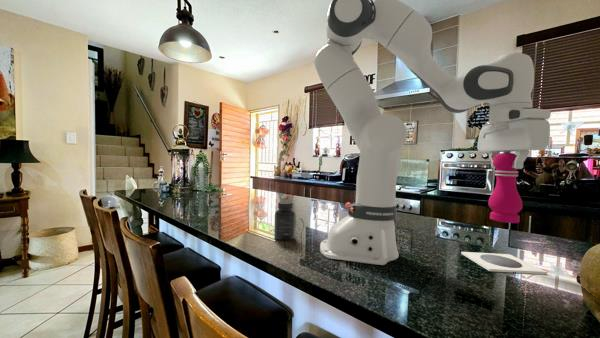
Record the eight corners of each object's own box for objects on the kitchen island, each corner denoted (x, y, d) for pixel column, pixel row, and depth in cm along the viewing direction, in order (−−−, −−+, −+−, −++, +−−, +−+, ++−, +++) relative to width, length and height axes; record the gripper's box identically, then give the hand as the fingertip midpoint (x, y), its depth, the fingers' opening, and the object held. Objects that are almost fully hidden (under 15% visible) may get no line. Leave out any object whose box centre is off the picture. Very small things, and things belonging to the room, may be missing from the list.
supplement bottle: (273, 235, 87) (274, 200, 86) (292, 234, 88) (294, 200, 88) (274, 241, 80) (276, 204, 80) (296, 241, 81) (297, 204, 81)
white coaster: (489, 271, 63) (489, 268, 63) (461, 253, 75) (461, 251, 75) (547, 274, 63) (547, 271, 63) (509, 256, 75) (509, 253, 75)
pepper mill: (528, 224, 64) (532, 146, 64) (496, 222, 66) (500, 145, 65) (511, 218, 71) (514, 148, 71) (482, 216, 73) (485, 147, 72)
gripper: (472, 122, 78) (470, 166, 79) (529, 109, 58) (525, 169, 58) (493, 123, 78) (490, 167, 78) (558, 109, 58) (553, 170, 58)
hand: (506, 168), depth 68 cm, fingers closed on pepper mill, 6 cm apart
